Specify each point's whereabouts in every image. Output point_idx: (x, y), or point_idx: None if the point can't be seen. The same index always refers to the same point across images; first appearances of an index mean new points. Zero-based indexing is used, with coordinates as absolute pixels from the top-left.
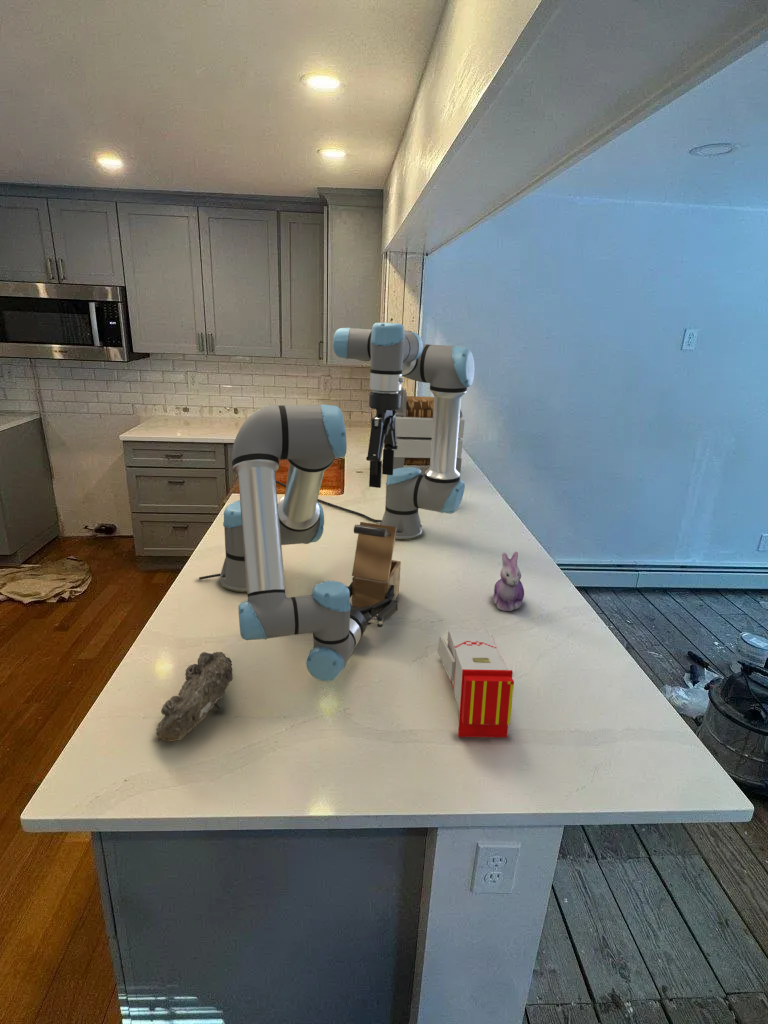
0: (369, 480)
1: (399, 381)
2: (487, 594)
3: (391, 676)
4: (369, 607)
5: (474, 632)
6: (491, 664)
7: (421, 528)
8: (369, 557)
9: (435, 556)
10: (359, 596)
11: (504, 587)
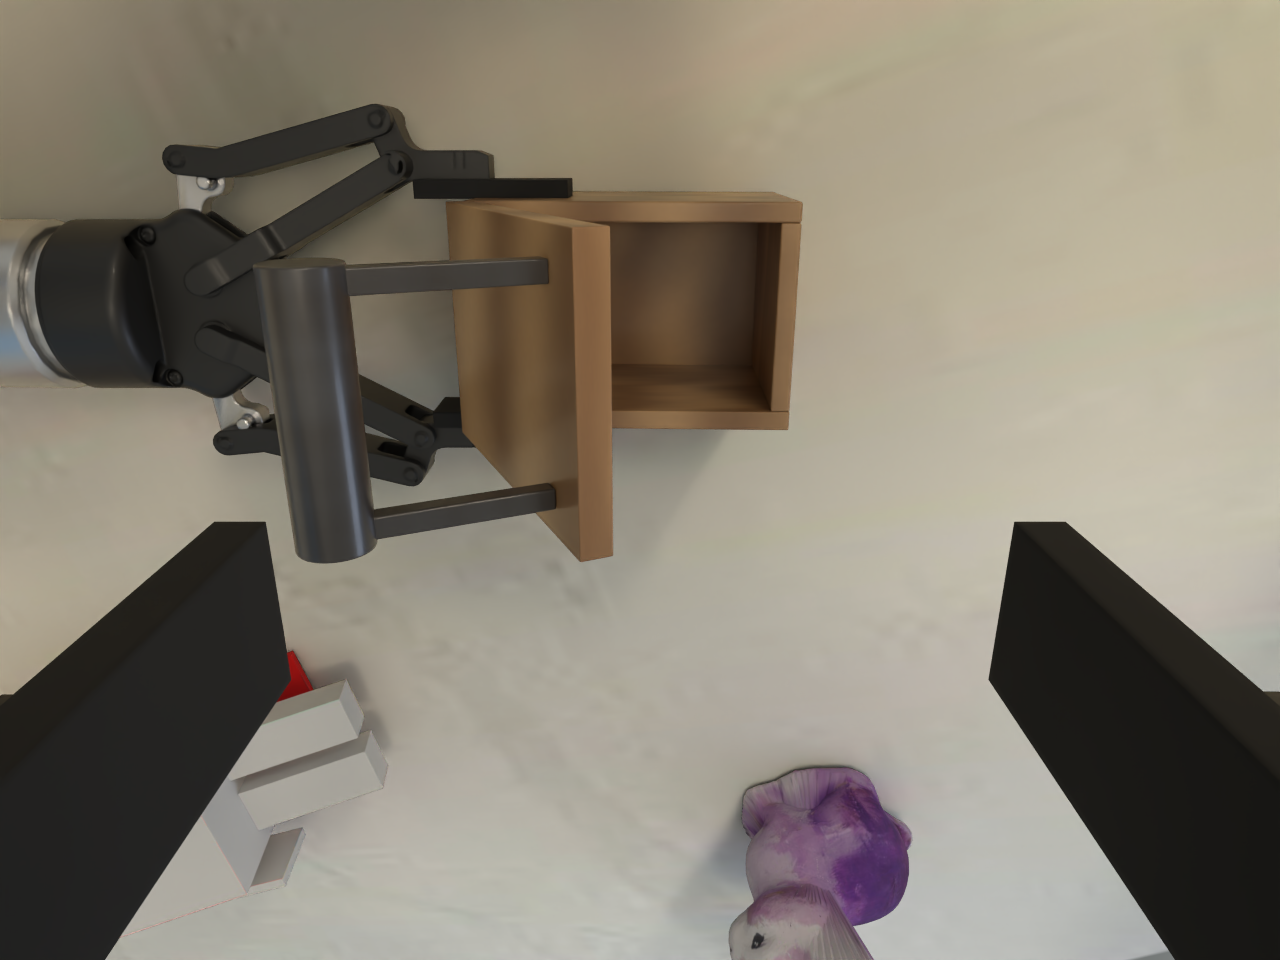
0: (156, 572)
1: None
2: (873, 739)
3: (107, 502)
4: (265, 375)
5: (194, 858)
6: None
7: None
8: (488, 322)
9: (1270, 462)
10: None
11: (758, 878)
